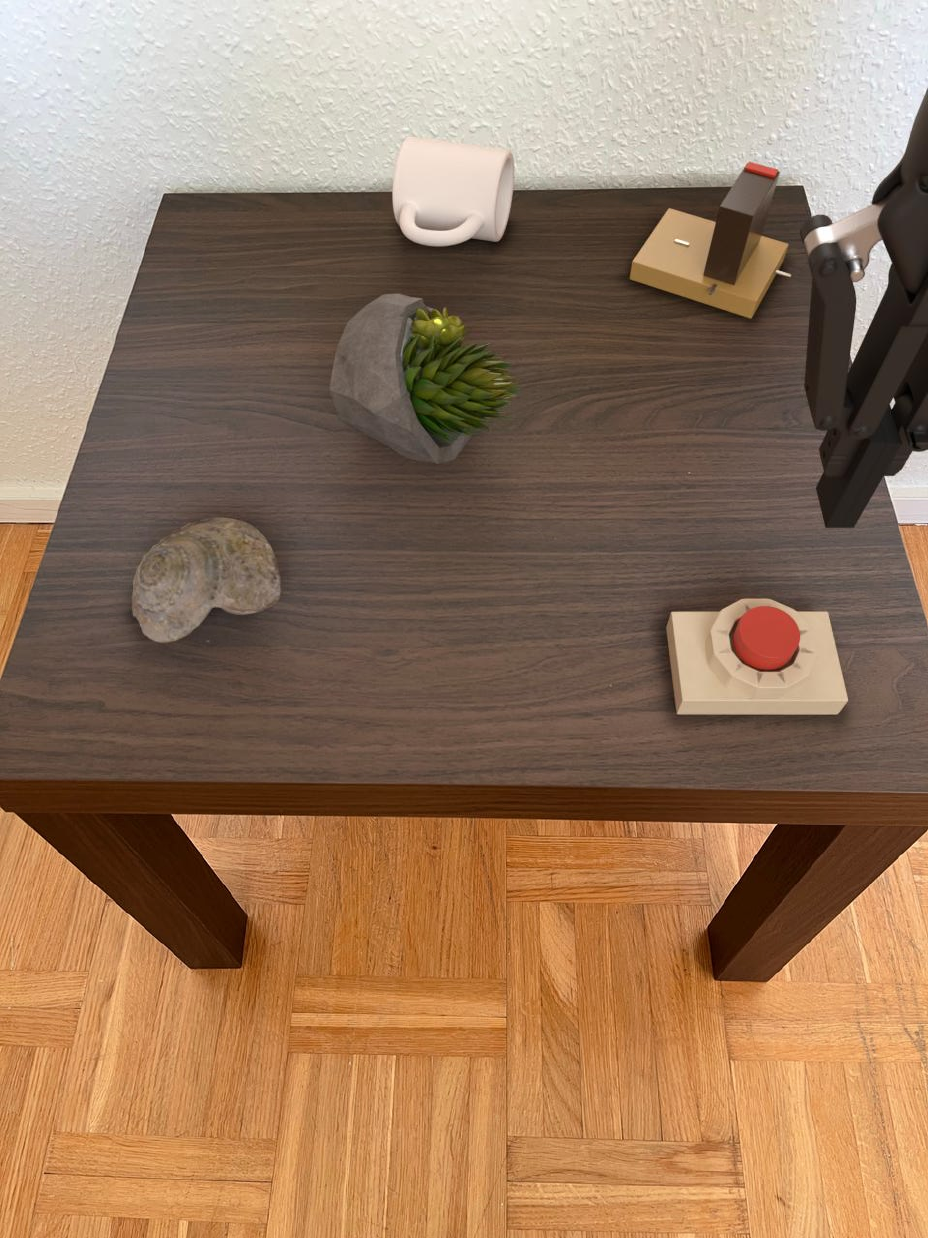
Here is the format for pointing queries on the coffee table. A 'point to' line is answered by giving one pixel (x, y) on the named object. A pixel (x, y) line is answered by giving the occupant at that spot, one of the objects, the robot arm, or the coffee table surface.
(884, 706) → the coffee table surface
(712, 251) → the lock turn
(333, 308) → the coffee table surface
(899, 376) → the robot arm
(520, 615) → the coffee table surface
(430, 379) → the potted plant
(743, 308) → the plate
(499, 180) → the mug
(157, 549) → the fossilized seashell
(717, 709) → the beige button housing
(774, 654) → the bell button
